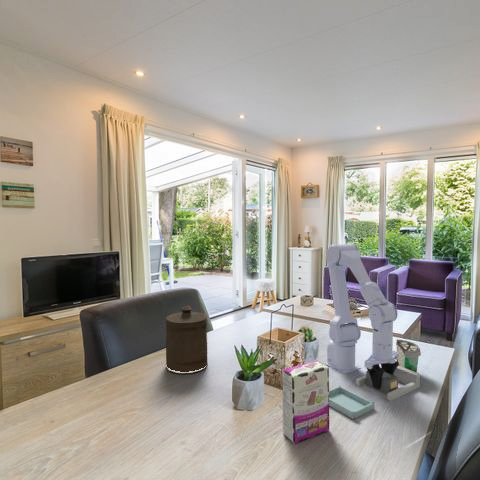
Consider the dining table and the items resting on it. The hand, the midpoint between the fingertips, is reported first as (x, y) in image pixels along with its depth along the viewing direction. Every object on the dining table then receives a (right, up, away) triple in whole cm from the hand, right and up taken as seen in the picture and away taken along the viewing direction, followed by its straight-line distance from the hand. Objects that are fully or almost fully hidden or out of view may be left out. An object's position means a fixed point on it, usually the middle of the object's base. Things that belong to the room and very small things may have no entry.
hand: (381, 385), depth 107 cm
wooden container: (-63, -1, +19) cm, 66 cm away
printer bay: (+3, -1, +2) cm, 3 cm away
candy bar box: (-28, -3, -21) cm, 35 cm away
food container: (+14, -1, +10) cm, 17 cm away
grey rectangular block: (0, -1, 0) cm, 1 cm away
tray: (-14, -2, -9) cm, 17 cm away
